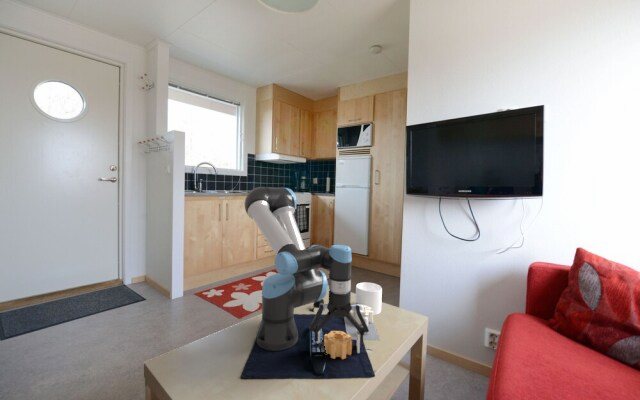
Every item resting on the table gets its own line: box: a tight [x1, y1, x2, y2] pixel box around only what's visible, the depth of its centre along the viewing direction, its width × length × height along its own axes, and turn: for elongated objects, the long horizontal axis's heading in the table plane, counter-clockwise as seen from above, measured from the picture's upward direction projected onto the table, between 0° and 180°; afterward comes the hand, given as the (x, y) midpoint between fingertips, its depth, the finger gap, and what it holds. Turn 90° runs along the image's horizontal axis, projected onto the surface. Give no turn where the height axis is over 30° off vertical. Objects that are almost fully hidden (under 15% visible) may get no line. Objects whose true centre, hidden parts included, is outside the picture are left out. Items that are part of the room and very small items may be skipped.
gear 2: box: [350, 305, 374, 325], centre depth 113 cm, size 10×10×5 cm
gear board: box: [343, 305, 381, 341], centre depth 108 cm, size 12×19×8 cm, turn 0°
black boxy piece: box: [308, 298, 325, 313], centre depth 126 cm, size 12×7×5 cm, turn 146°
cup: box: [355, 281, 383, 316], centre depth 124 cm, size 12×12×12 cm
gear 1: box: [323, 330, 353, 360], centre depth 94 cm, size 10×10×5 cm
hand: (338, 350), depth 94 cm, fingers open, 13 cm apart
